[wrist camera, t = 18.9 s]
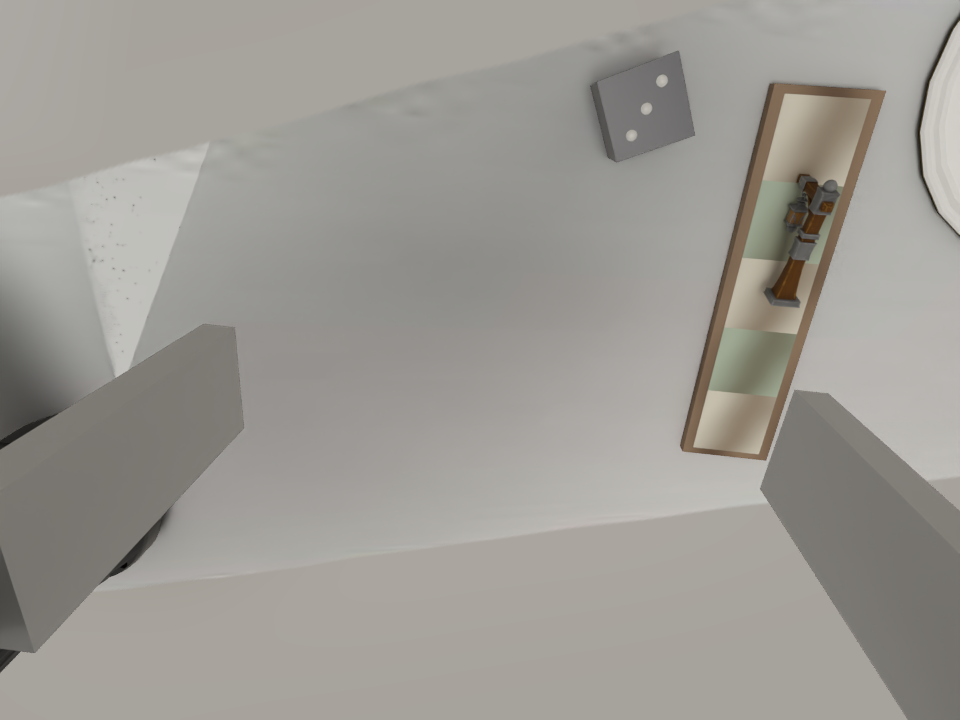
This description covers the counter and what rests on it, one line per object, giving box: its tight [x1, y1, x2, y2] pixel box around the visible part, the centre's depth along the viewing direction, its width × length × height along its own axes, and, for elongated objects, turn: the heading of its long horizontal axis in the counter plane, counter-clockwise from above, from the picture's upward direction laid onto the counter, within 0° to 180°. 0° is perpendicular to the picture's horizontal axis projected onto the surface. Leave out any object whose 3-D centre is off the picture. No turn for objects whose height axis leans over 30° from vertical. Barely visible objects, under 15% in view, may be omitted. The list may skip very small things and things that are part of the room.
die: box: [590, 51, 695, 162], centre depth 33 cm, size 5×4×5 cm
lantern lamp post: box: [763, 174, 841, 308], centre depth 35 cm, size 4×2×8 cm
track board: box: [680, 83, 886, 460], centre depth 39 cm, size 6×26×1 cm, turn 176°
